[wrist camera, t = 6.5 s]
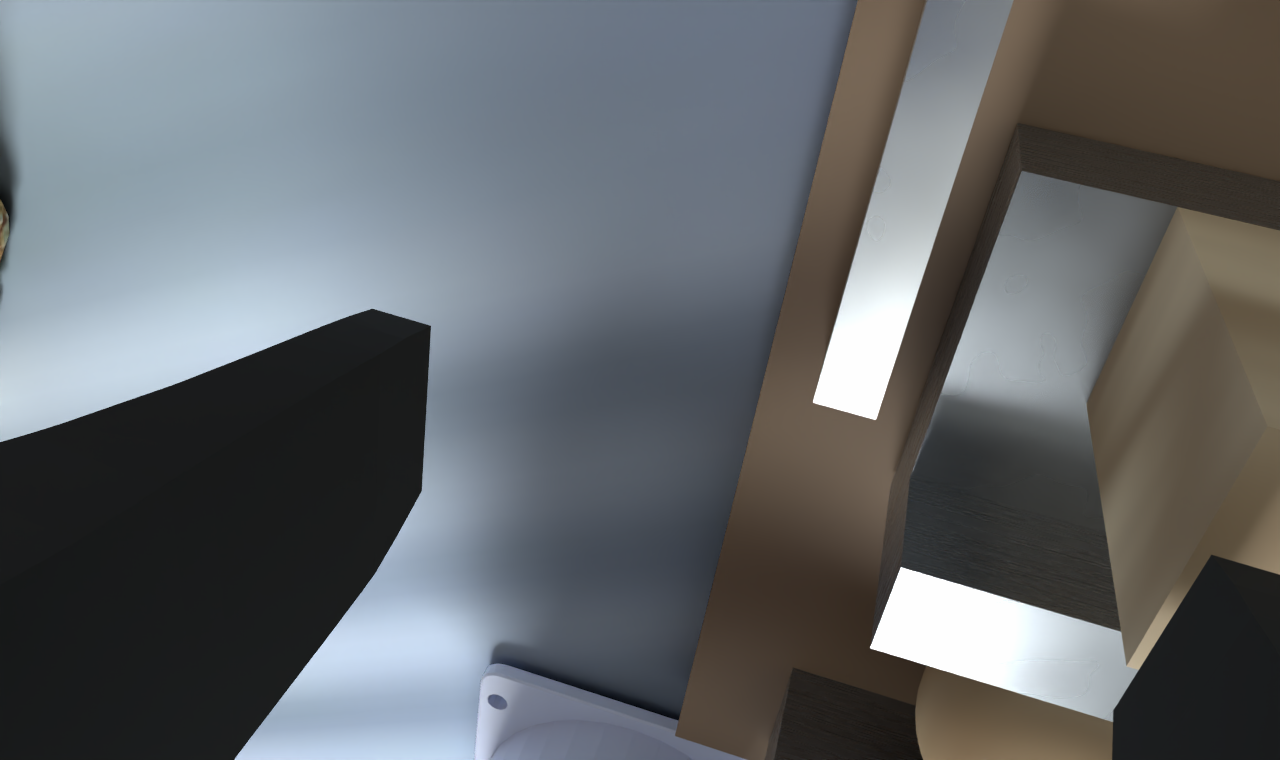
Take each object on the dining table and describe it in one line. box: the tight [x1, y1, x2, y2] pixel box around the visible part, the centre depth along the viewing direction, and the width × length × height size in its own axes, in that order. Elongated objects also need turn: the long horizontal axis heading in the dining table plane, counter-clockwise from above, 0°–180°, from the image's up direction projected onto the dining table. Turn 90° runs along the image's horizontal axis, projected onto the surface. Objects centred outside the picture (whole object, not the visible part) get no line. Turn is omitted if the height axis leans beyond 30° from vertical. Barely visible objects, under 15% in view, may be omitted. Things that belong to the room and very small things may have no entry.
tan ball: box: [915, 665, 1113, 760], centre depth 18 cm, size 4×4×4 cm
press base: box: [675, 0, 1280, 760], centre depth 16 cm, size 22×12×6 cm, turn 172°
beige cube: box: [870, 123, 1280, 722], centre depth 13 cm, size 7×7×7 cm
